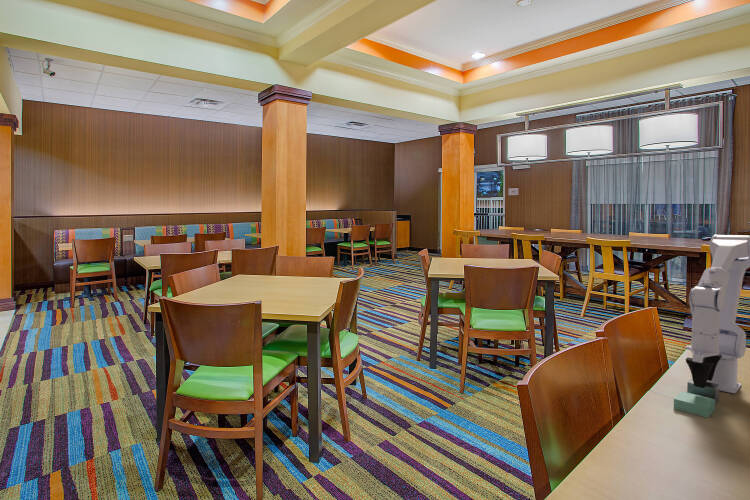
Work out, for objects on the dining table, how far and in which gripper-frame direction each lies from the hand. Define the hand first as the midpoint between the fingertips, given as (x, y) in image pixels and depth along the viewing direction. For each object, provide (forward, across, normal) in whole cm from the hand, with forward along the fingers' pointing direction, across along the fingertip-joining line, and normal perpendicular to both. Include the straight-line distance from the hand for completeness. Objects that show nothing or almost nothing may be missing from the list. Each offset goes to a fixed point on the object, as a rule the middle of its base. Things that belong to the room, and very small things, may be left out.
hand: (703, 383), depth 113 cm
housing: (+4, 0, 0) cm, 5 cm away
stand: (+4, +8, 0) cm, 9 cm away
